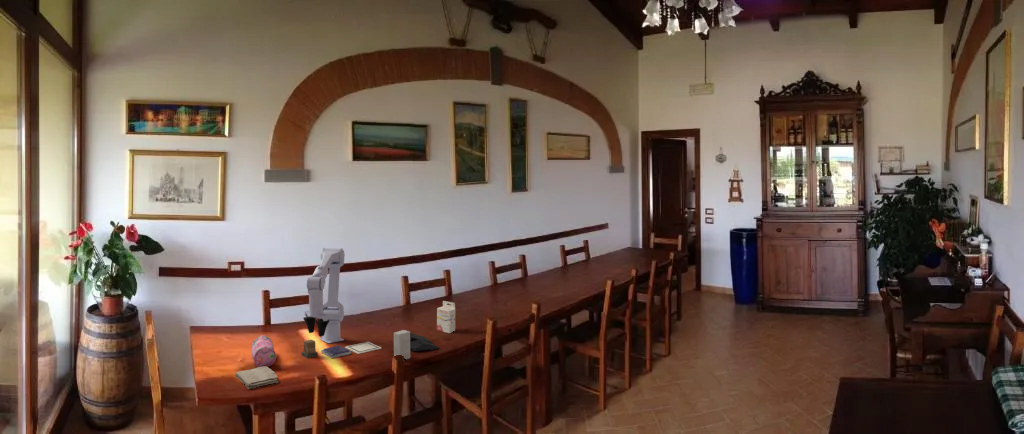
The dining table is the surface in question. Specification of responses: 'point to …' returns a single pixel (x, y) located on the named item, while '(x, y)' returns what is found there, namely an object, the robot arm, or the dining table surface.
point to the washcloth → (257, 377)
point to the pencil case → (263, 351)
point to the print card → (363, 347)
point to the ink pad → (335, 351)
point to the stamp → (309, 349)
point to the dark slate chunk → (421, 343)
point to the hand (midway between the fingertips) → (316, 334)
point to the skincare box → (402, 343)
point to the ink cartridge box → (446, 317)
